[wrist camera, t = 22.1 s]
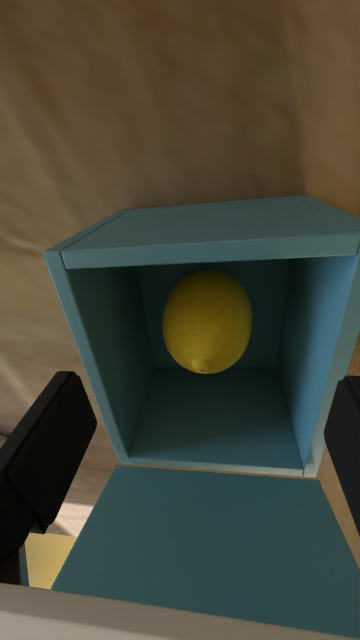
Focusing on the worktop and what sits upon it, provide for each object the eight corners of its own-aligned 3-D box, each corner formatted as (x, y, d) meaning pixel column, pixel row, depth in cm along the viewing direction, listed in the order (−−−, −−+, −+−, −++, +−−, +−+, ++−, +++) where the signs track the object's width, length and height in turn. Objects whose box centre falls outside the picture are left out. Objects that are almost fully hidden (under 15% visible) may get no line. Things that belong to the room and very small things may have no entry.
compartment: (119, 210, 19) (41, 251, 11) (307, 194, 17) (390, 230, 9) (150, 367, 26) (118, 463, 18) (283, 368, 24) (316, 477, 16)
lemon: (224, 318, 22) (222, 407, 16) (163, 292, 21) (137, 378, 15) (265, 267, 18) (280, 361, 13) (192, 233, 17) (172, 318, 12)
